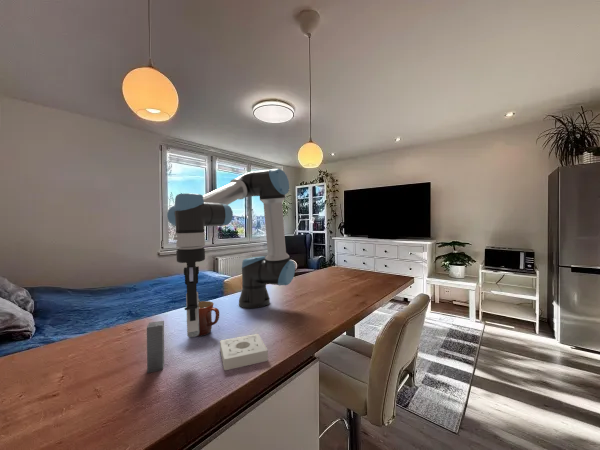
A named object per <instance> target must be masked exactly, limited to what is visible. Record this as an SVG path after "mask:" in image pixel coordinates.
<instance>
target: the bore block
mask: <svg viewBox="0 0 600 450" xmlns="http://www.w3.org/2000/svg"><path fill="white" fill-rule="evenodd" d="M219 350H220V356H221V361H222V367H223V371H229V370H234V369H238V368H243V367H246V366H251V365H255V364H259V363H264V362H268V361H269V350H268V348H267V346H266V345H265V343H264V340H263V339H262V338H261V336H260V334H259V333H254V334H249V335H242V336H238V337H231V338H227V339H222V340H219Z"/></svg>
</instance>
